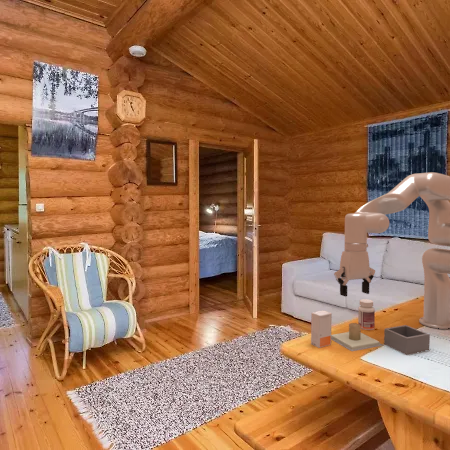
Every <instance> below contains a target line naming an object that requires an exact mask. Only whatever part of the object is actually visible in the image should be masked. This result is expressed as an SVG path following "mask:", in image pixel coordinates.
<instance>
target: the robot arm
mask: <svg viewBox="0 0 450 450" xmlns="http://www.w3.org/2000/svg"><path fill="white" fill-rule="evenodd" d="M418 197H420V198H421V199H422V200H423V202H424V203H425V204H426V206H427V207H428V210H429V215H428V231H427V235H428V236H427V239H428V241H429V242H430V243H431V244H433V245H436V246H443V247H450V175H447V174H443V173H439V172H432V171H431V172H421V173H412V174H410V175H407V176H406V177H405V178H403V180H401V181H400V182H399V183H398V184H397V185H395V186H394V187H393V188H392V189H391V190H390V191H388V192H387V193H385V194H383V195H381V196H379V197H376V198H374V199H372V200H370V201H368V202H366V203H365V204H364V205H362V206H360V207H359V208H358V209H357V210H356V211H355V212H354V213H347V214H346V215H345V216H344V250H343V251H342V252H341V255H340V256H341V257H340V261H339V263H340V264H339V269H338V270H337V271H335V272H334V273H333V275H334V278H335V281H337V283H338V284H339V294H340V296H343V297H345V298H346V297H348V285H347V284H348V282H350V281H352V280H353V281H354V280H362V281H361V292H362V293H364V294H366V295H369V294H370V284H371V283H372V280H373V278H374V276H375V274H376V270H375V269H373V268H372V267H370V257H369V252H368V251H367V248H368V247H369V244H368V243H367V242H368V238H367V237H368V234H382V233H384V232H386V231H387V230H388V229H389V227H390V220H389V217H388V216H387V215H390V214H395V213H398V212H402V211H404V210H406V209H407V208H408V207H409V206H410V205H411V204H412V203H413V202H414V201H416V199H417V198H418ZM421 261H422V262H421V263H422V267H423V273H424V274H423V275H424V276H423V277H424V284H423V285H424V288H423V292H424V293H423V295H424V296H423V316H422V317H420V318H419V320H418V321H419V324H421V325H423V326H425V327H428V328H432V329H438V328H439V330H449V329H448V328H450V276H449V275H450V249H448V248H447V249H444V248H438V247H437V248H436V247H433V248H429V249H426V250H425V251H424V252H423V254H422V257H421Z"/></svg>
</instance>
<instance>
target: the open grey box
mask: <svg viewBox="0 0 450 450" xmlns="http://www.w3.org/2000/svg"><path fill="white" fill-rule="evenodd" d="M383 332H384V334H383V337H384V338H383V345H384V346H385V345H386V346H388V347H390V348H391V349H394V350H395V351H398V352H400V353H402V354H404V355H406V356H408V355H409V356H410V355H414V354H418V353H417V352H419V353H422V352H421V351H424V352H426V351H425V350H429V351H430V342H431V341H430V338H431V337H430V336H431V335H430V334H429V333H427V332H424V331H422V330H420V329H417V328H415V327H413V326H412V327H411V326H409V325H407V324H403V325H398V326H391V327H386V328H384V330H383Z"/></svg>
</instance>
